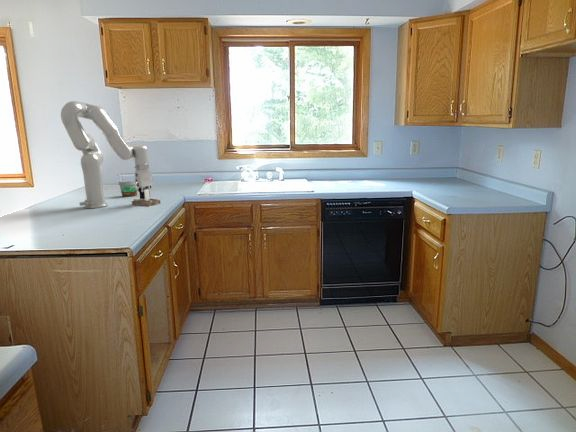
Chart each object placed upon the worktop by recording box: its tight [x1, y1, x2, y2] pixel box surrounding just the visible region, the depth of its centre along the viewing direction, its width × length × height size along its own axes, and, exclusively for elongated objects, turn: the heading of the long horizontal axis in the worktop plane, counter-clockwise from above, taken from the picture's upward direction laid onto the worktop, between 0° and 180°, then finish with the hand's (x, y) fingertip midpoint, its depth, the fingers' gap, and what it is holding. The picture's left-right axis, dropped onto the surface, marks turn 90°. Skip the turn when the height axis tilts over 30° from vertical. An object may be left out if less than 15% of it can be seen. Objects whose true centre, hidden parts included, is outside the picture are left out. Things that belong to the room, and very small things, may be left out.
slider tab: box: [141, 187, 151, 200], centre depth 249 cm, size 4×4×7 cm
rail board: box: [131, 197, 162, 207], centre depth 250 cm, size 9×14×3 cm, turn 63°
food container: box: [118, 180, 138, 198], centre depth 276 cm, size 12×6×10 cm, turn 105°
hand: (145, 197), depth 250 cm, fingers closed on slider tab, 3 cm apart
